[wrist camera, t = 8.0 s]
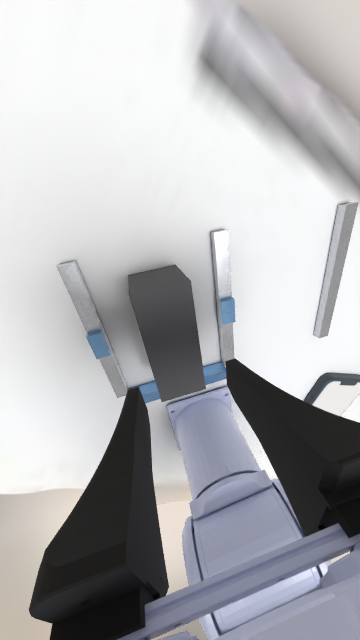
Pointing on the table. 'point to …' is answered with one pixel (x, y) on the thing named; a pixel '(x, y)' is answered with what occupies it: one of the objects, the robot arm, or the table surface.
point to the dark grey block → (168, 329)
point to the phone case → (334, 392)
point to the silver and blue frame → (223, 299)
